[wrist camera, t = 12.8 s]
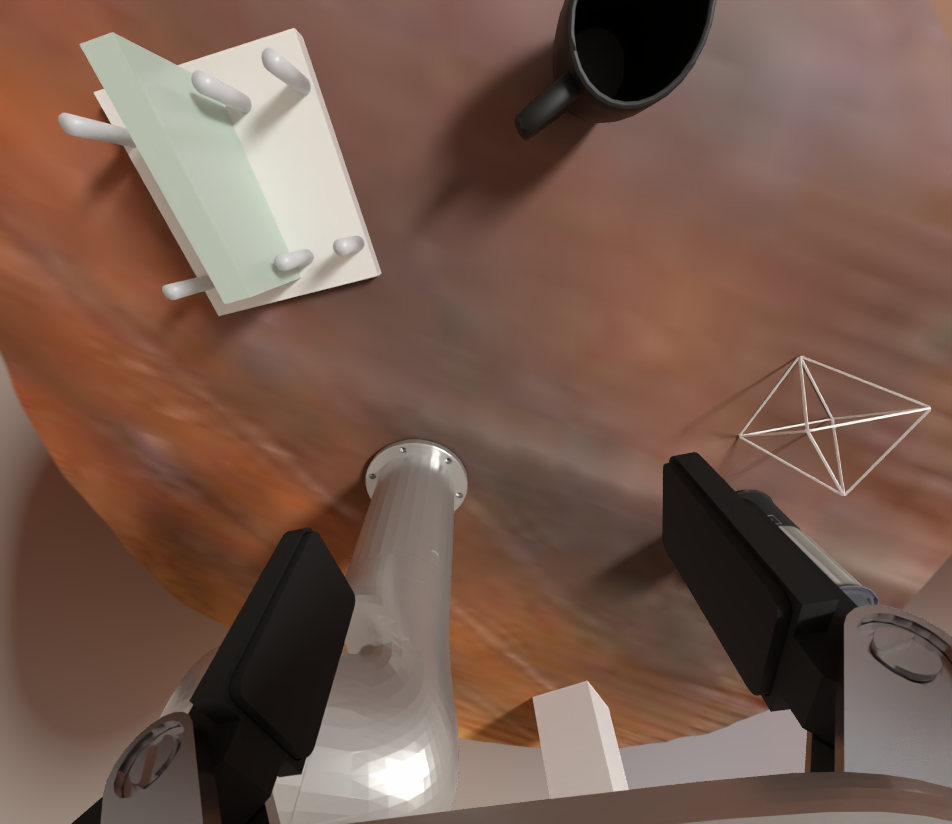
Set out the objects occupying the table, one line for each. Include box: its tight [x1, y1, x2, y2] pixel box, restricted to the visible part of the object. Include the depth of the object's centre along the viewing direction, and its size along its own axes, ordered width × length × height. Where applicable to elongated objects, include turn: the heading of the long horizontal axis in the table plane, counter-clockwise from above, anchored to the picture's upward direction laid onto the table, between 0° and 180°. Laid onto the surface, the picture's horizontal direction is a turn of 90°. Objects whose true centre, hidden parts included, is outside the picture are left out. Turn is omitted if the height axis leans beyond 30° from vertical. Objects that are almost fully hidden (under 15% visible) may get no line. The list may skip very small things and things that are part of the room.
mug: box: [514, 0, 716, 140], centre depth 25 cm, size 8×12×10 cm
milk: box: [532, 681, 629, 799], centre depth 63 cm, size 12×12×26 cm
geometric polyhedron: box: [739, 356, 931, 496], centre depth 39 cm, size 12×11×9 cm
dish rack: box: [59, 28, 381, 316], centre depth 29 cm, size 17×16×6 cm
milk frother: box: [736, 490, 879, 607], centre depth 47 cm, size 14×16×15 cm
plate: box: [80, 32, 301, 304], centre depth 27 cm, size 14×2×9 cm, turn 14°
